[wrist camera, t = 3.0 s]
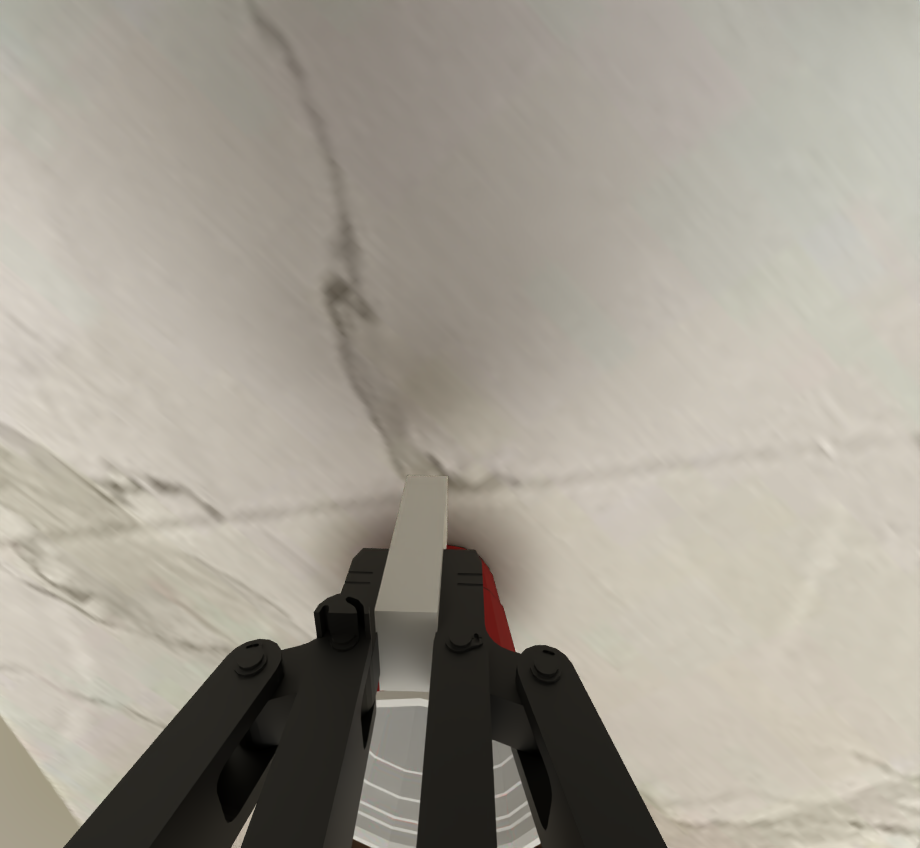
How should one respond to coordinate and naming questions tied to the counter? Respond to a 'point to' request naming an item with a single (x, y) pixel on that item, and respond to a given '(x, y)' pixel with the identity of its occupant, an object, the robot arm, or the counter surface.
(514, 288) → the counter surface
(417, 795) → the plastic cup
